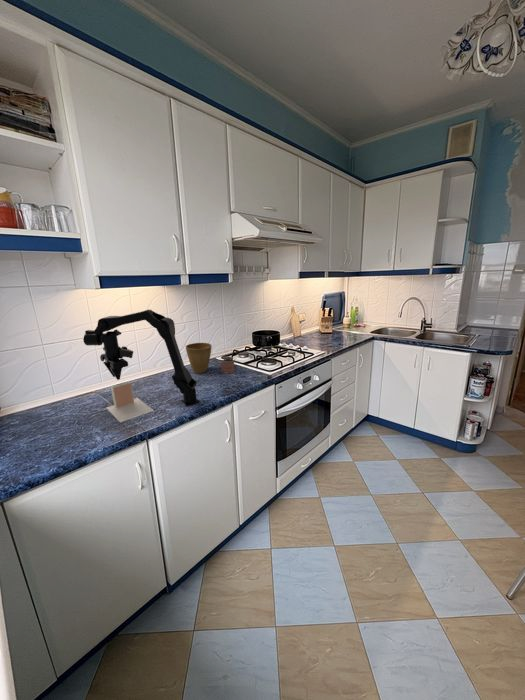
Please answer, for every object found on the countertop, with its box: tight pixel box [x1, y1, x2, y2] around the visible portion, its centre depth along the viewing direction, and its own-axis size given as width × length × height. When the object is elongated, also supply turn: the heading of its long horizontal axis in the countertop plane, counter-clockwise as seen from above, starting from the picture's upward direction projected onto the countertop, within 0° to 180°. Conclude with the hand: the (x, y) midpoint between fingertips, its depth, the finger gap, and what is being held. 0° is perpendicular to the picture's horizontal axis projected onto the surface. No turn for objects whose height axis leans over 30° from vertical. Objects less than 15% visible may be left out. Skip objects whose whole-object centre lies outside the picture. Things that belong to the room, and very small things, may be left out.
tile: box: [110, 380, 135, 408], centre depth 130 cm, size 2×8×10 cm, turn 134°
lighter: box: [220, 355, 236, 375], centre depth 170 cm, size 8×3×10 cm, turn 84°
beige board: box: [106, 397, 154, 423], centre depth 128 cm, size 18×14×1 cm
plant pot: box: [185, 342, 212, 374], centre depth 172 cm, size 15×15×16 cm
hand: (116, 378), depth 132 cm, fingers open, 5 cm apart
